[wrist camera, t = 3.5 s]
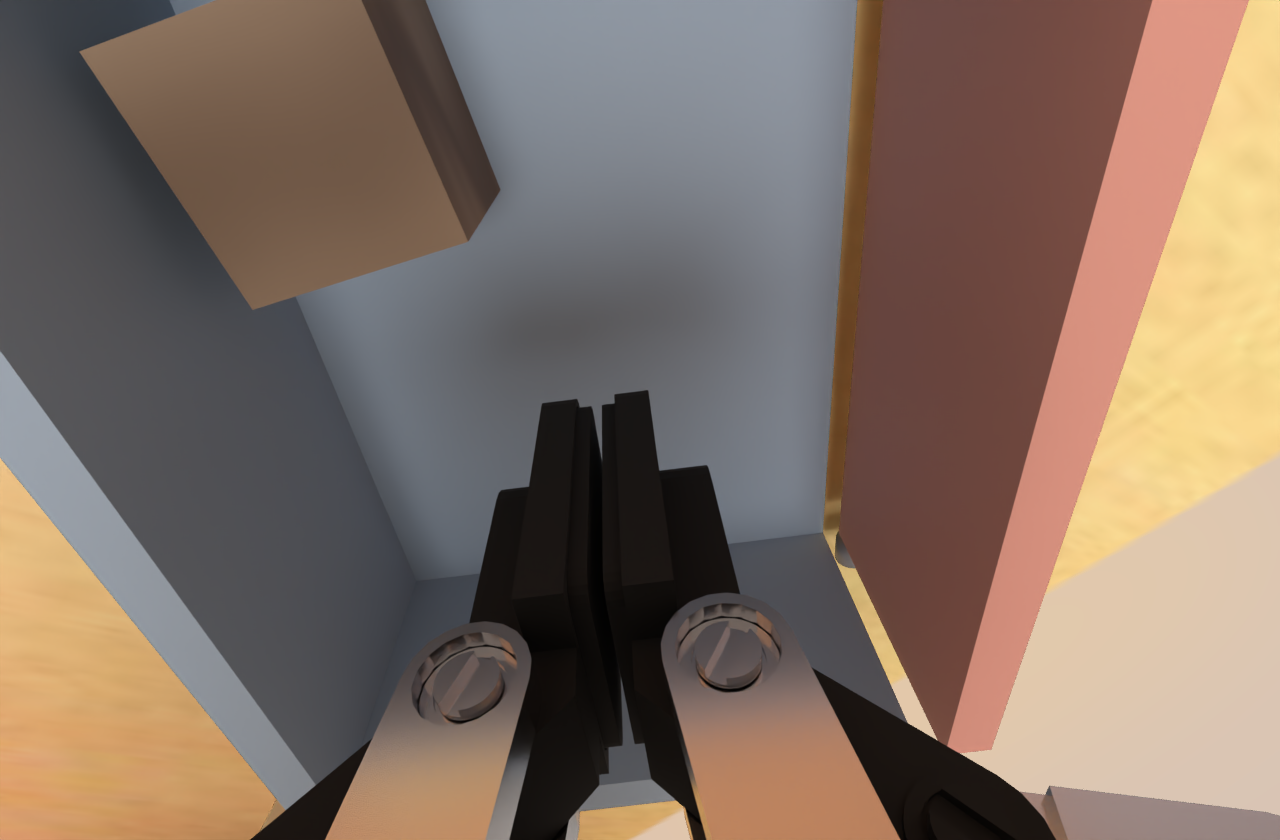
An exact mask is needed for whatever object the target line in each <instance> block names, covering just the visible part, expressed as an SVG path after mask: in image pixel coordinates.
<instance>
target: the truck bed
mask: <svg viewBox="0 0 1280 840" xmlns="http://www.w3.org/2000/svg"><path fill="white" fill-rule="evenodd" d="M212 1H215V0H0V458H1V459H2V461H3V462H4V463H5V464H6V465H7V467H8V468H9V469H10V470H11V472H12V473H13V474H14V475H15V477H16V478H17V479H18V480H19V482H20V483H21V484H22V485H23V487H24V488H25V489H26V490H27V491H28V493H29V494H30V495H31V496H32V498H33V499H34V500H35V501H36V503H37V504H38V505H39V506H40V508H41V509H42V510H43V511H44V512H45V514H46V515H47V516H48V517H49V519H50V520H51V521H52V522H53V524H54V525H55V526H56V527H57V529H58V530H59V531H60V532H61V533H62V535H63V536H64V537H65V538H66V540H67V541H68V542H69V543H70V545H71V546H72V547H73V548H74V550H75V551H76V552H77V553H78V554H79V556H80V557H81V558H82V559H83V561H84V562H85V563H86V564H87V566H88V567H89V568H90V569H91V571H92V572H93V573H94V574H95V575H96V577H97V578H98V579H99V580H100V582H101V583H102V584H103V585H104V587H105V588H106V589H107V590H108V592H109V593H110V594H111V595H112V596H113V598H114V599H115V600H116V601H117V603H118V604H119V605H120V606H121V608H122V609H123V610H124V611H125V613H126V614H127V615H128V616H129V617H130V619H131V620H132V621H133V622H134V624H135V625H136V626H137V627H138V629H139V630H140V631H141V632H142V634H143V635H144V636H145V637H146V638H147V640H148V641H149V642H150V643H151V645H152V646H153V647H154V648H155V650H156V651H157V652H158V653H159V655H160V656H161V657H162V658H163V659H164V661H165V662H166V663H167V664H168V666H169V667H170V668H171V669H172V671H173V672H174V673H175V674H176V676H177V677H178V678H179V679H180V680H181V682H182V683H183V684H184V685H185V687H186V688H187V689H188V690H189V692H190V693H191V694H192V695H193V697H194V698H195V699H196V700H197V701H198V703H199V704H200V705H201V706H202V708H203V709H204V710H205V711H206V713H207V714H208V715H209V716H210V718H211V719H212V720H213V721H214V722H215V724H216V725H217V726H218V727H219V729H220V730H221V731H222V732H223V734H224V735H225V736H226V737H227V739H228V740H229V741H230V742H231V743H232V745H233V746H234V747H235V748H236V750H237V751H238V752H239V753H240V755H241V756H242V757H243V758H244V760H245V761H246V762H247V763H248V764H249V766H250V767H251V768H252V769H253V771H254V772H255V773H256V774H257V776H258V777H259V778H260V779H261V781H262V782H263V783H264V784H265V785H266V787H267V788H268V789H269V790H270V792H271V793H272V794H273V795H274V797H275V798H276V799H277V800H278V802H279V803H280V804H281V805H282V806H283V808H284V809H285V810H287V809H288V808H289V807H290V806H291V805H293V804H294V803H295V802H296V801H297V800H299V799H300V798H301V797H302V796H303V795H305V794H306V793H307V792H308V791H309V790H311V789H312V788H313V787H314V786H315V785H317V784H318V783H319V782H320V781H321V780H323V779H324V778H325V777H326V776H327V775H329V774H330V773H331V772H332V771H333V770H335V769H336V768H337V767H338V766H339V765H341V764H342V763H343V762H344V761H345V760H347V759H348V758H349V757H350V756H351V755H353V754H354V753H355V752H356V751H357V750H359V749H360V748H361V747H362V746H364V745H365V744H366V743H367V742H368V741H370V740H371V739H372V738H373V736H374V734H375V732H376V730H377V728H378V725H379V723H380V721H381V719H382V717H383V715H384V713H385V710H386V708H387V706H388V704H389V702H390V700H391V698H392V695H393V693H394V691H395V689H396V687H397V685H398V683H399V680H400V678H401V676H402V674H403V673H404V671H405V670H406V668H407V666H408V665H409V663H410V662H411V660H412V659H413V657H414V656H415V655H416V654H417V653H418V652H419V651H420V650H421V649H422V648H423V647H424V646H425V645H426V644H427V643H428V642H430V641H432V640H433V639H435V638H436V637H438V636H439V635H441V634H443V633H444V632H446V631H448V630H451V629H453V628H456V627H459V626H461V625H464V624H468V623H469V621H470V617H471V612H472V608H473V603H474V599H475V594H476V590H477V585H478V581H479V576H480V572H481V567H482V563H483V558H484V554H485V549H486V544H487V540H488V535H489V531H490V526H491V522H492V517H493V513H494V508H495V504H496V499H497V496H498V493H499V492H500V491H501V490H505V489H513V488H521V487H529V482H530V476H531V469H532V463H533V456H534V450H535V444H536V437H537V431H538V424H539V418H540V412H541V406H542V403H547V402H555V401H563V400H571V399H577V400H578V402H579V406H580V407H588V406H592V409H593V414H594V419H595V425H596V430H597V436H598V442H599V447H600V453H601V459H602V405H605V404H613V403H615V402H614V394H620V393H628V392H636V391H644V390H648V392H649V399H650V406H651V414H652V421H653V428H654V436H655V443H656V451H657V458H658V465H659V471H661V470H669V469H677V468H685V467H693V466H702V465H707V466H708V468H709V471H710V474H711V478H712V482H713V486H714V490H715V494H716V498H717V502H718V506H719V510H720V514H721V518H722V522H723V526H724V531H725V535H726V539H727V543H728V547H729V551H730V555H731V559H732V563H733V567H734V571H735V575H736V579H737V583H738V587H739V591H740V594H742V595H748V596H750V597H753V598H755V599H758V600H760V601H763V602H765V603H767V604H768V605H769V606H771V607H772V608H773V609H775V610H776V611H777V612H779V613H780V614H781V615H782V617H783V618H784V619H785V621H786V622H787V623H788V625H789V626H790V627H791V629H792V631H793V633H794V635H795V637H796V638H797V640H798V642H799V644H800V646H801V648H802V650H803V652H804V654H805V656H806V658H807V660H808V662H809V664H810V666H811V667H812V668H814V669H816V670H817V671H819V672H821V673H822V674H824V675H826V676H828V677H829V678H831V679H833V680H834V681H836V682H838V683H840V684H841V685H843V686H845V687H846V688H848V689H850V690H852V691H853V692H855V693H857V694H858V695H860V696H862V697H864V698H865V699H867V700H869V701H870V702H872V703H874V704H876V705H877V706H879V707H881V708H882V709H884V710H886V711H888V712H889V713H891V714H893V715H894V716H896V717H898V718H900V719H901V720H903V721H905V722H906V723H907V721H906V718H905V716H904V714H903V712H902V709H901V707H900V705H899V703H898V700H897V698H896V696H895V694H894V691H893V689H892V687H891V685H890V682H889V680H888V678H887V676H886V673H885V671H884V669H883V667H882V664H881V662H880V660H879V658H878V655H877V653H876V651H875V649H874V646H873V644H872V642H871V640H870V638H869V635H868V633H867V631H866V629H865V626H864V624H863V622H862V620H861V617H860V615H859V613H858V611H857V608H856V606H855V604H854V602H853V599H852V597H851V595H850V593H849V590H848V588H847V586H846V584H845V581H844V579H843V577H842V575H841V572H840V570H839V568H838V566H837V563H836V561H835V559H834V557H833V554H832V552H831V550H830V548H829V545H828V543H827V541H826V539H825V537H824V534H823V522H824V506H825V491H826V475H827V460H828V445H829V429H830V414H831V398H832V383H833V367H834V352H835V337H836V321H837V306H838V290H839V275H840V259H841V244H842V229H843V213H844V198H845V182H846V167H847V151H848V136H849V121H850V105H851V90H852V74H853V59H854V44H855V28H856V13H857V0H426V2H427V5H428V8H429V10H430V13H431V15H432V18H433V20H434V23H435V25H436V28H437V30H438V33H439V35H440V38H441V40H442V43H443V45H444V48H445V51H446V53H447V56H448V58H449V61H450V63H451V66H452V68H453V71H454V73H455V76H456V78H457V81H458V83H459V86H460V88H461V91H462V94H463V96H464V99H465V101H466V104H467V106H468V109H469V111H470V114H471V116H472V119H473V121H474V124H475V126H476V129H477V131H478V134H479V136H480V139H481V142H482V144H483V147H484V149H485V152H486V154H487V157H488V159H489V162H490V164H491V167H492V169H493V172H494V174H495V177H496V179H497V182H498V185H499V187H500V192H499V193H498V195H497V197H496V198H495V200H494V201H493V203H492V205H491V206H490V208H489V209H488V211H487V213H486V214H485V216H484V217H483V219H482V221H481V222H480V224H479V225H478V227H477V229H476V230H475V232H474V233H473V235H472V237H471V238H470V240H469V241H468V242H466V243H463V244H460V245H457V246H453V247H450V248H447V249H444V250H441V251H438V252H434V253H431V254H428V255H425V256H422V257H419V258H415V259H412V260H409V261H406V262H403V263H400V264H396V265H393V266H390V267H387V268H384V269H381V270H378V271H374V272H371V273H368V274H365V275H362V276H359V277H355V278H352V279H349V280H346V281H343V282H340V283H336V284H333V285H330V286H327V287H324V288H321V289H317V290H314V291H311V292H308V293H305V294H302V295H298V296H295V297H292V298H289V299H286V300H283V301H279V302H276V303H273V304H270V305H267V306H264V307H260V308H257V309H254V310H252V308H251V307H250V305H249V304H248V302H247V301H246V299H245V298H244V296H243V295H242V293H241V292H240V290H239V289H238V287H237V286H236V285H235V283H234V282H233V280H232V279H231V277H230V276H229V274H228V273H227V271H226V270H225V268H224V267H223V265H222V264H221V262H220V261H219V259H218V258H217V256H216V255H215V253H214V252H213V250H212V249H211V247H210V246H209V244H208V243H207V241H206V240H205V238H204V237H203V235H202V234H201V232H200V231H199V229H198V228H197V226H196V225H195V223H194V222H193V220H192V219H191V217H190V216H189V214H188V213H187V211H186V210H185V209H184V207H183V206H182V204H181V203H180V201H179V200H178V198H177V197H176V195H175V194H174V192H173V191H172V189H171V188H170V186H169V185H168V183H167V182H166V180H165V179H164V177H163V176H162V174H161V173H160V171H159V170H158V168H157V167H156V165H155V164H154V162H153V161H152V159H151V158H150V156H149V155H148V153H147V152H146V150H145V149H144V147H143V146H142V144H141V143H140V141H139V140H138V138H137V137H136V135H135V134H134V133H133V131H132V130H131V128H130V127H129V125H128V124H127V122H126V121H125V119H124V118H123V116H122V115H121V113H120V112H119V110H118V109H117V107H116V106H115V104H114V103H113V101H112V100H111V98H110V97H109V95H108V94H107V92H106V91H105V89H104V88H103V86H102V85H101V83H100V82H99V80H98V79H97V77H96V76H95V74H94V73H93V71H92V70H91V68H90V67H89V65H88V64H87V62H86V61H85V59H84V58H83V57H82V55H81V54H80V52H79V51H82V50H85V49H87V48H90V47H93V46H95V45H98V44H101V43H103V42H106V41H109V40H111V39H114V38H117V37H119V36H122V35H125V34H127V33H130V32H133V31H135V30H138V29H140V28H143V27H146V26H148V25H151V24H154V23H156V22H159V21H162V20H164V19H167V18H170V17H172V16H175V15H178V14H180V13H183V12H186V11H188V10H191V9H194V8H196V7H199V6H202V5H204V4H207V3H210V2H212ZM835 558H836V560H837V562H838V563H840V564H841V565H843V566H845V567H848V568H855V566H854V564H853V561H852V559H851V557H850V555H849V553H848V551H847V549H846V547H845V545H844V543H843V541H842V538H841V536H840V534H839V532H838V533H837V535H836V546H835ZM621 694H622V725H623V744H622V746H617V747H609V774H601V775H599V786H598V787H597V789H596V790H595V791H594V792H593V793H592V794H591V795H590V797H589V798H588V799H587V800H586V801H585V802H584V803H583V805H582V806H581V807H580V808H579V809H580V811H587V810H596V809H604V808H613V807H622V806H631V805H639V804H648V803H657V802H665V801H674V800H675V799H674V798H673V797H672V796H670V795H669V794H668V793H667V792H666V791H665V790H663V789H662V788H661V787H660V786H659V785H658V784H656V783H655V782H654V781H653V780H652V779H651V776H650V770H649V765H648V760H647V754H646V749H645V744H644V743H643V744H635V743H634V739H633V734H632V729H631V724H630V719H629V714H628V709H627V704H626V699H625V694H624V690H623V685H622V680H621Z"/></svg>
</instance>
